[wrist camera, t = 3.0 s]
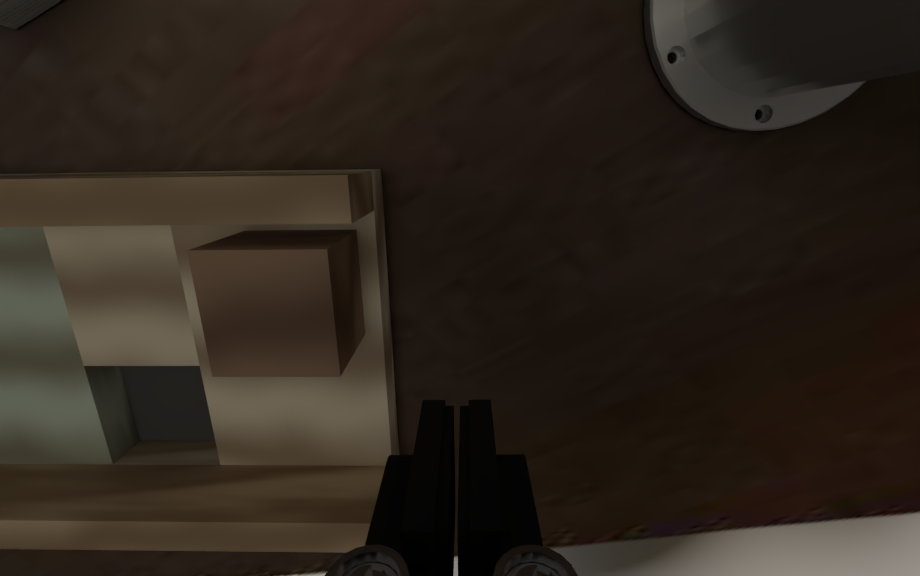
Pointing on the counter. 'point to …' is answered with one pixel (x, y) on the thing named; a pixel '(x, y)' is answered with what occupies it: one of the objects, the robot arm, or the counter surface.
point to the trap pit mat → (168, 403)
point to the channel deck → (178, 344)
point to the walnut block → (280, 302)
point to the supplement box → (22, 11)
